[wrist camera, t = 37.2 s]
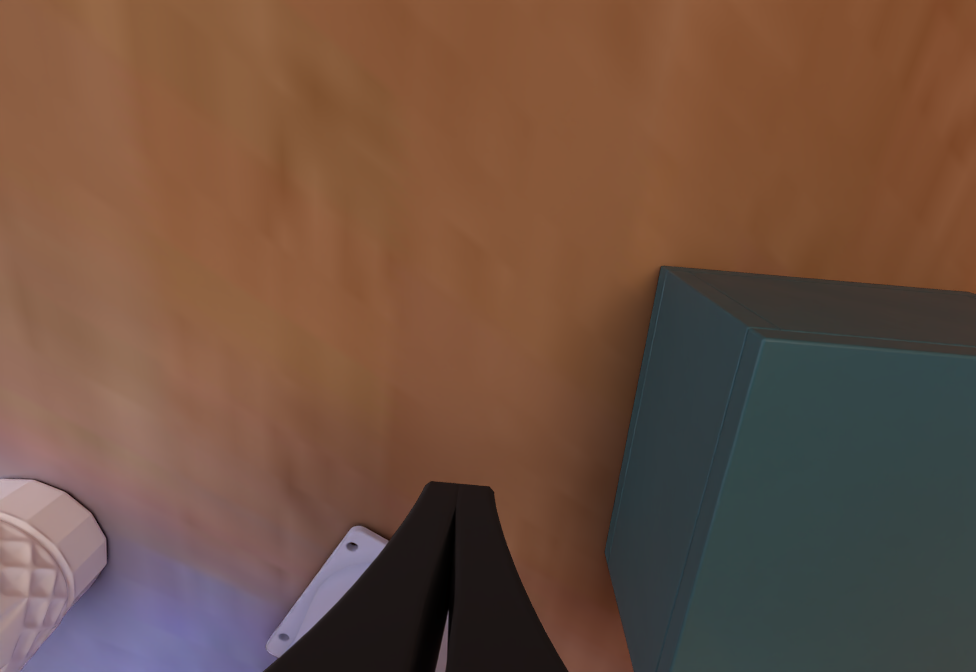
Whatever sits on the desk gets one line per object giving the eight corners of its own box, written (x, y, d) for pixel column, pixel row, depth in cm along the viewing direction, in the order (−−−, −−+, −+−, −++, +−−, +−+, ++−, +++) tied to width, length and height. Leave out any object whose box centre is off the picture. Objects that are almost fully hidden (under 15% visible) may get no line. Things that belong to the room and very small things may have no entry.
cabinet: (852, 574, 24) (1018, 775, 16) (604, 552, 24) (650, 741, 16) (969, 291, 19) (1281, 382, 11) (661, 265, 19) (763, 337, 11)
